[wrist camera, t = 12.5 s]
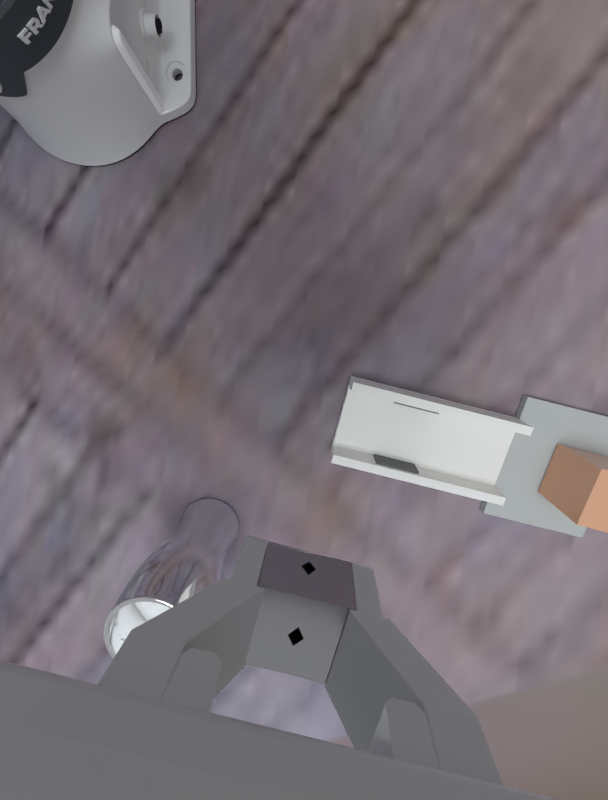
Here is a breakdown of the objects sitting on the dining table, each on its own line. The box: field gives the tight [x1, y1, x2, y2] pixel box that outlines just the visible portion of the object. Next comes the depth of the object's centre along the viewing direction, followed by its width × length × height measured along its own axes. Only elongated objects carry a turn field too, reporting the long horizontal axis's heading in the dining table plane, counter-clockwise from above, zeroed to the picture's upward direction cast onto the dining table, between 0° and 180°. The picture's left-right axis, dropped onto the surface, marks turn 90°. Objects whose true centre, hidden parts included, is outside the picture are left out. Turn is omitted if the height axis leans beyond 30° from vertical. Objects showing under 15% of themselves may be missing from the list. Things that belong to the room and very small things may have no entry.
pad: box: [480, 395, 608, 538], centre depth 38 cm, size 12×10×1 cm
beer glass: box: [103, 498, 239, 659], centre depth 34 cm, size 7×7×15 cm
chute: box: [330, 376, 534, 506], centre depth 37 cm, size 8×16×4 cm, turn 76°
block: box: [538, 444, 608, 532], centre depth 34 cm, size 5×5×6 cm
